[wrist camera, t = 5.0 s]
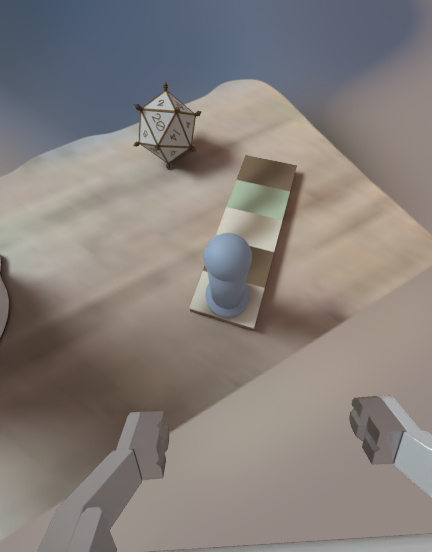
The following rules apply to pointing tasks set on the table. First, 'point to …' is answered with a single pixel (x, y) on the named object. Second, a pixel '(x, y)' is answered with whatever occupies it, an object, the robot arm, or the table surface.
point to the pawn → (227, 274)
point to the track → (252, 229)
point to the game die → (166, 127)
